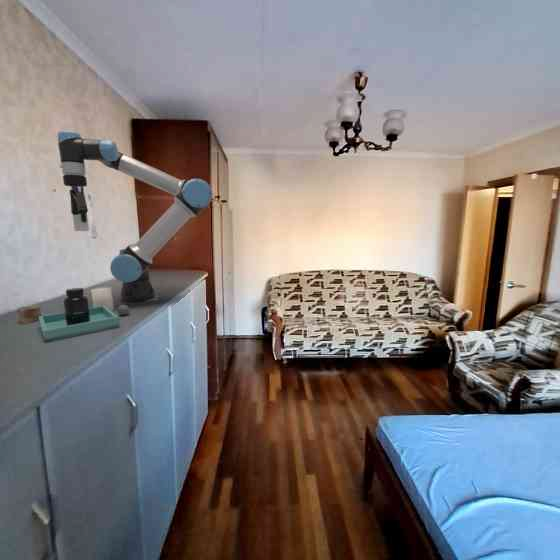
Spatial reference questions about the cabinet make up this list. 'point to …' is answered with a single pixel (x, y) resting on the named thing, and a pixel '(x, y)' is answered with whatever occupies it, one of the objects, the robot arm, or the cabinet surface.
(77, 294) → the supplement bottle
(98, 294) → the cream round piece
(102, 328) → the tray
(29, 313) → the walnut block
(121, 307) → the grey egg
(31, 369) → the cabinet surface
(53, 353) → the cabinet surface
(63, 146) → the robot arm
